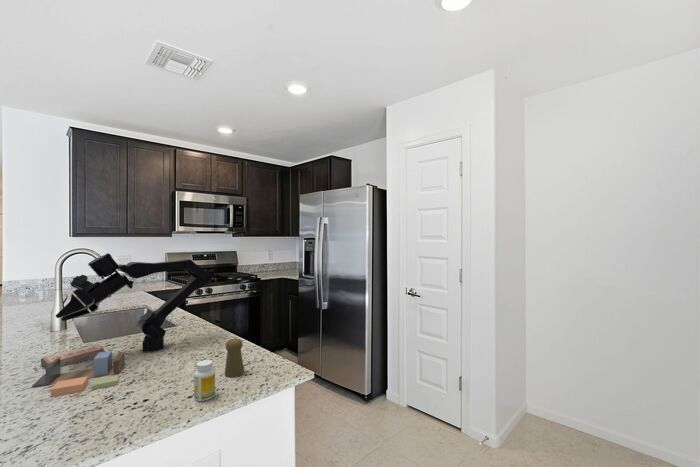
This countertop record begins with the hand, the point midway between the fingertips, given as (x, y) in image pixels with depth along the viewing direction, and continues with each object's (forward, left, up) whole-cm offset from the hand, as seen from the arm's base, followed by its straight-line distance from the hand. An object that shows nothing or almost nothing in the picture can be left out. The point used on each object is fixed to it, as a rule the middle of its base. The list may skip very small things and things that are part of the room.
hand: (59, 318), depth 105 cm
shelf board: (-7, +7, -18) cm, 21 cm away
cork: (-51, +24, -19) cm, 60 cm away
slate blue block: (-13, +7, -17) cm, 22 cm away
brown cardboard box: (-7, +17, -19) cm, 26 cm away
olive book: (-16, +18, -19) cm, 30 cm away
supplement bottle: (-42, +36, -19) cm, 59 cm away
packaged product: (0, -10, -19) cm, 21 cm away
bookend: (+1, +7, -17) cm, 18 cm away
